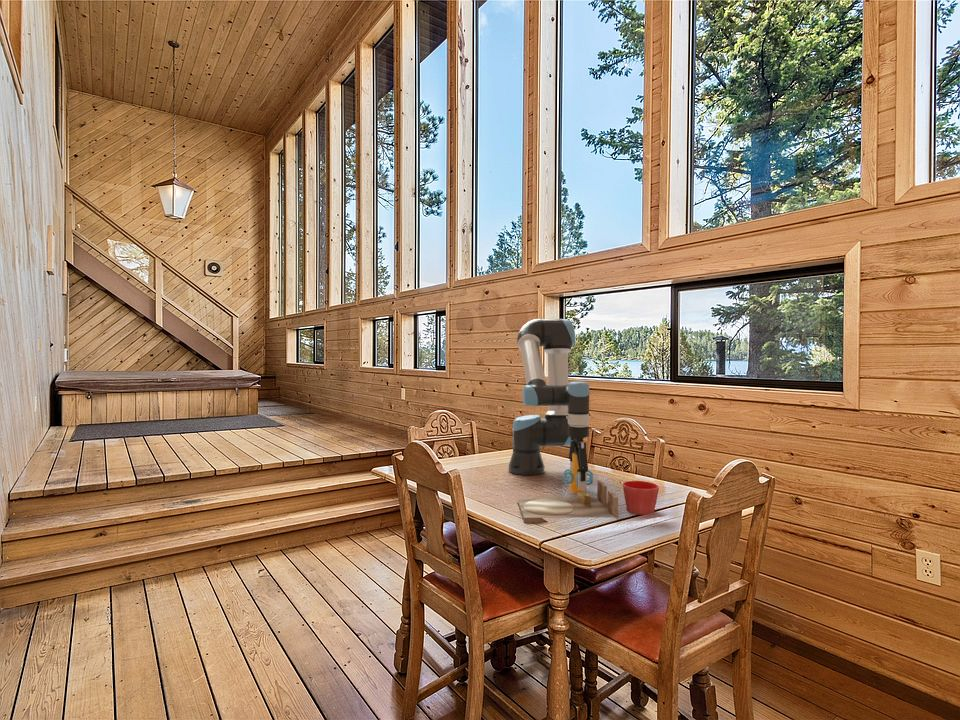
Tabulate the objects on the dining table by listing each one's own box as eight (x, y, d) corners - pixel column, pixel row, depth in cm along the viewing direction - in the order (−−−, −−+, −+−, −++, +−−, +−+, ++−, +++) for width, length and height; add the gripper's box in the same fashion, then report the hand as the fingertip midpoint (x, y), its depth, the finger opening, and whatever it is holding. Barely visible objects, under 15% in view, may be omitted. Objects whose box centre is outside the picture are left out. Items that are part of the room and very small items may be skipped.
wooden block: (577, 501, 176) (577, 492, 175) (584, 500, 177) (584, 492, 176) (584, 505, 172) (584, 496, 172) (590, 504, 173) (590, 495, 173)
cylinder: (592, 501, 181) (593, 457, 181) (562, 499, 183) (562, 456, 183) (592, 491, 193) (592, 450, 193) (563, 489, 195) (564, 449, 195)
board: (517, 502, 180) (517, 480, 179) (601, 501, 180) (602, 480, 180) (524, 522, 160) (524, 498, 159) (619, 521, 161) (619, 497, 160)
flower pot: (633, 507, 174) (633, 478, 174) (664, 515, 166) (665, 484, 166) (615, 514, 167) (616, 484, 167) (647, 523, 159) (647, 491, 159)
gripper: (561, 420, 200) (560, 476, 200) (575, 431, 175) (574, 495, 176) (580, 420, 200) (580, 475, 201) (597, 431, 175) (597, 494, 176)
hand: (577, 484), depth 188 cm, fingers open, 13 cm apart
